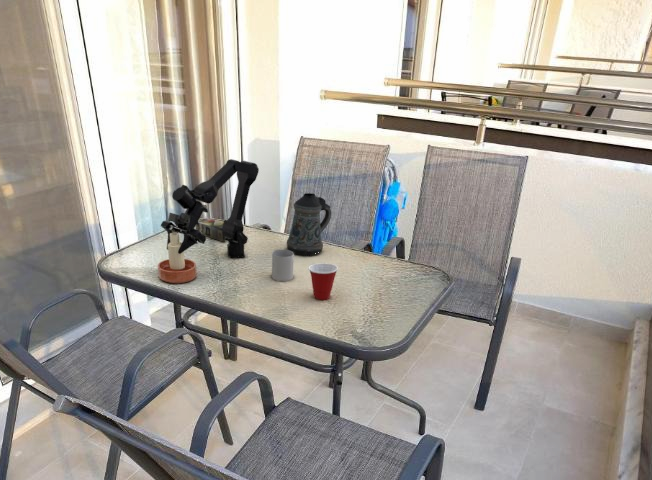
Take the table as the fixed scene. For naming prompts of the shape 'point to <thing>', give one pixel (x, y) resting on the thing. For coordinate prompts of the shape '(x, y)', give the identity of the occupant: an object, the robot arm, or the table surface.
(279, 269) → the cup
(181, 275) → the bowl
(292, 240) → the beer stein
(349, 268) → the table surface
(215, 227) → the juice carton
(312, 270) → the plastic cup
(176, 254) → the bottle
